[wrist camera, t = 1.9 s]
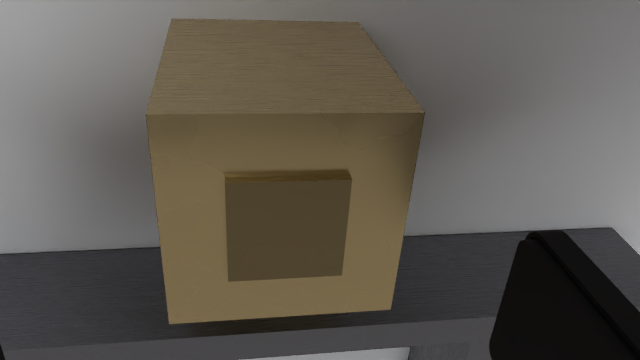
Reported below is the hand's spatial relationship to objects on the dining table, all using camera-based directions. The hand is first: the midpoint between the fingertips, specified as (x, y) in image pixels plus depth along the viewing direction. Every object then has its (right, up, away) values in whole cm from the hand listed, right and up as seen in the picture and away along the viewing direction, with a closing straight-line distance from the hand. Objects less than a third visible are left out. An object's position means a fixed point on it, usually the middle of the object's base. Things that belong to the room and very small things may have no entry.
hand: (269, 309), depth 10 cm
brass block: (-1, +5, +6) cm, 8 cm away
